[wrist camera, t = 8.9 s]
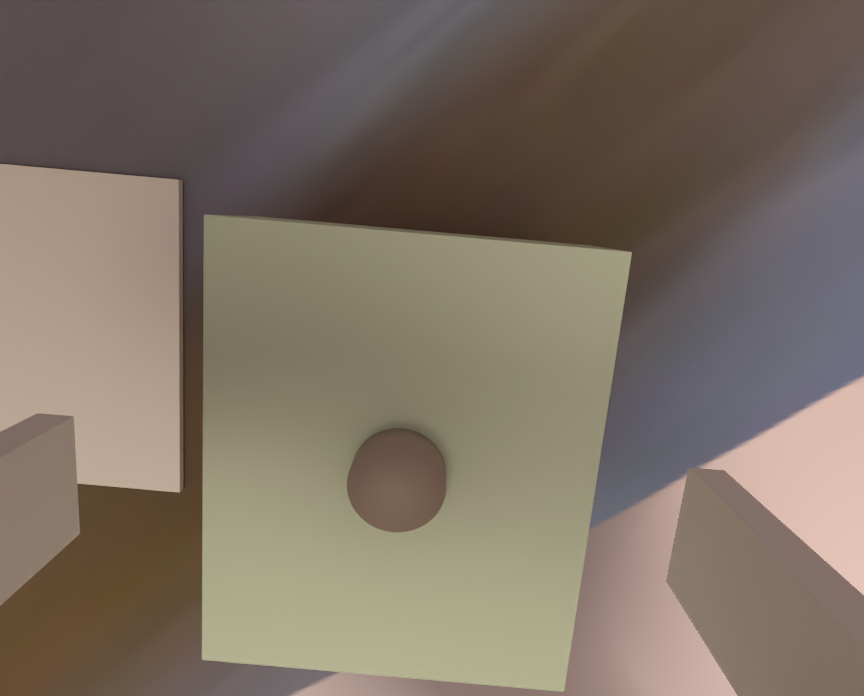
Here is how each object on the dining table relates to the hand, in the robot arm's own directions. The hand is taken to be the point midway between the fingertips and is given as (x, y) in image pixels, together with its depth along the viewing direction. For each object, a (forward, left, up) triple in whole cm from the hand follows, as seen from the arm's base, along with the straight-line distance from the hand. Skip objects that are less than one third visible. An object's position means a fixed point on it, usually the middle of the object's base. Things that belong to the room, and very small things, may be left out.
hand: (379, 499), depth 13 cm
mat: (0, -17, -14) cm, 22 cm away
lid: (0, 0, -6) cm, 6 cm away
